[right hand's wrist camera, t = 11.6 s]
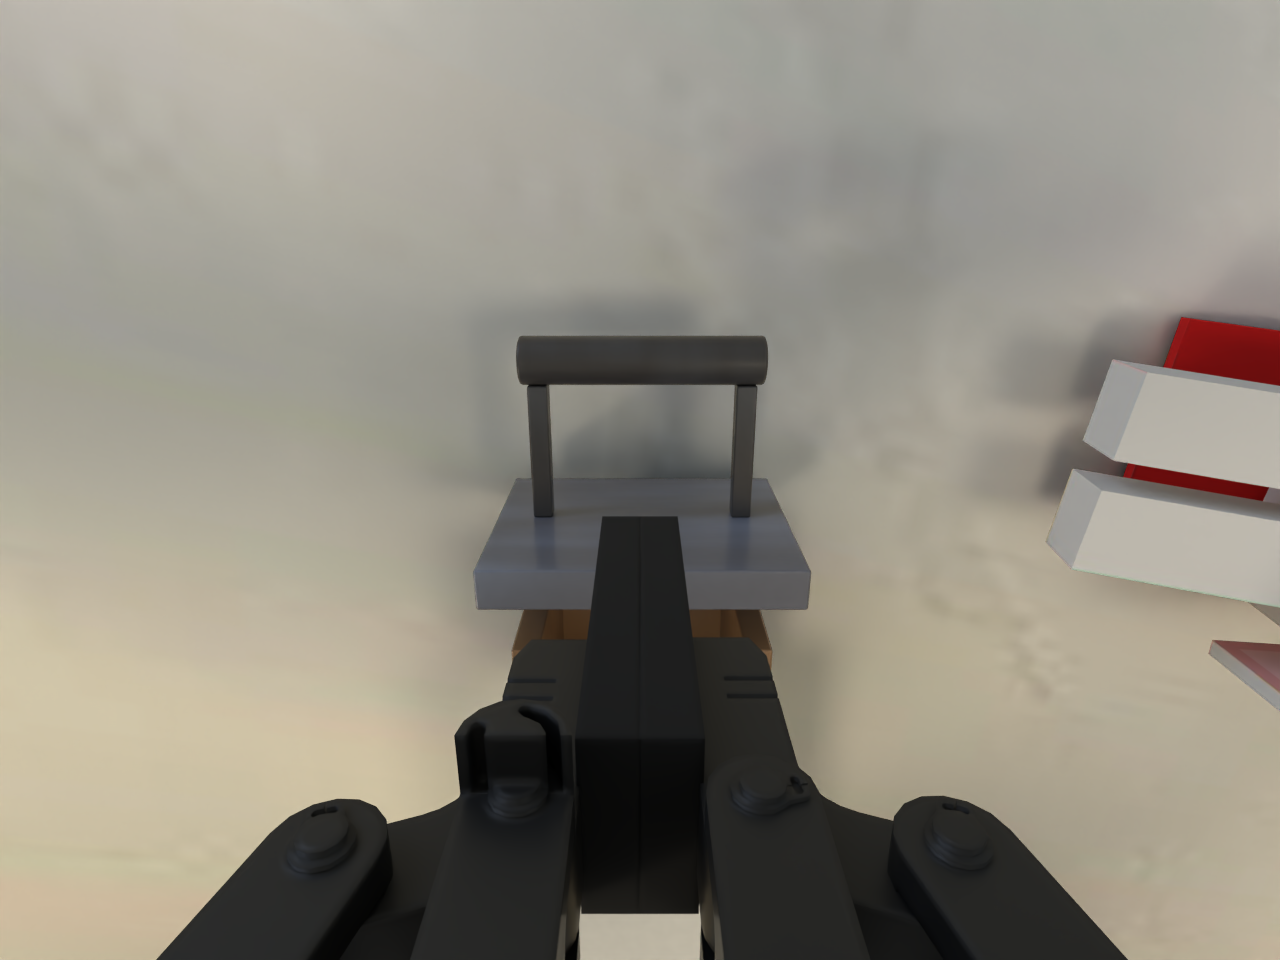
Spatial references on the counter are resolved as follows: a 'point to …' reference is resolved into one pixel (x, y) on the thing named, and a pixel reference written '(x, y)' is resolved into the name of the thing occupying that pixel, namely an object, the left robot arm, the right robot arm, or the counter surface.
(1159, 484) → the toy
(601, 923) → the cabinet
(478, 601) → the drawer
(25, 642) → the counter surface
